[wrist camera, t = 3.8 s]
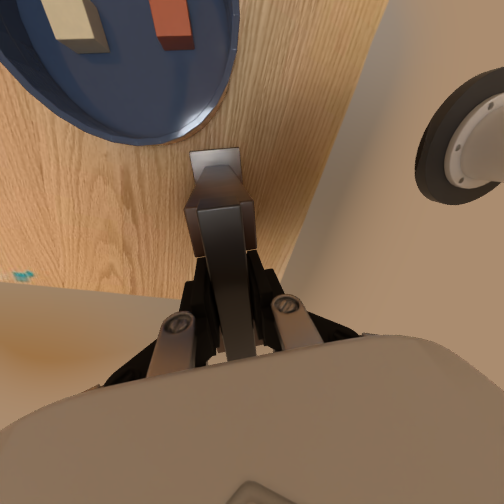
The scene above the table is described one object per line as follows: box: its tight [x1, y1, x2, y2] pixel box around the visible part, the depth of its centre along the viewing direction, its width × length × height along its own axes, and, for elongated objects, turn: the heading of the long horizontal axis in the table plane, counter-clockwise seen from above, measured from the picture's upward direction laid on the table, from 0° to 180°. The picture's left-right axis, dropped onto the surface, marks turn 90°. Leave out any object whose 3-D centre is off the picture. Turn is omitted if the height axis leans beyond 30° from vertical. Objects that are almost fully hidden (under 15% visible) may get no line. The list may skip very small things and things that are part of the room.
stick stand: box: [184, 147, 263, 353], centre depth 20 cm, size 6×13×20 cm, turn 4°
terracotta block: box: [149, 0, 195, 51], centre depth 18 cm, size 3×3×3 cm
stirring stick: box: [196, 195, 256, 362], centre depth 10 cm, size 2×10×2 cm, turn 4°
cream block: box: [41, 0, 110, 54], centre depth 17 cm, size 3×3×3 cm
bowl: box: [0, 0, 240, 146], centre depth 17 cm, size 19×19×6 cm
